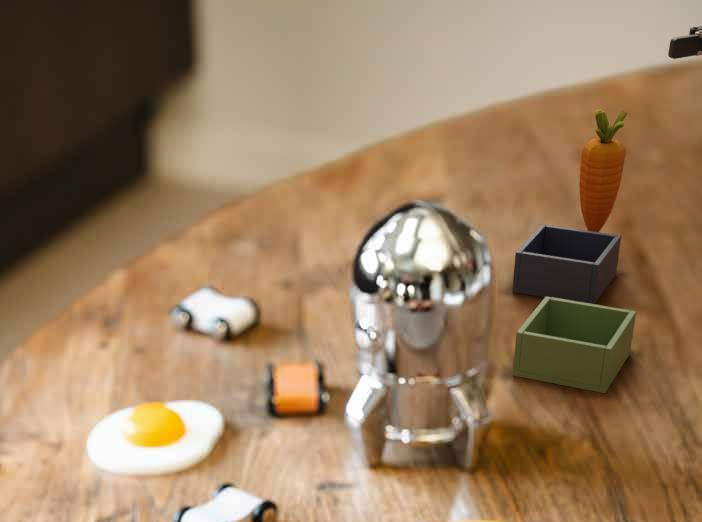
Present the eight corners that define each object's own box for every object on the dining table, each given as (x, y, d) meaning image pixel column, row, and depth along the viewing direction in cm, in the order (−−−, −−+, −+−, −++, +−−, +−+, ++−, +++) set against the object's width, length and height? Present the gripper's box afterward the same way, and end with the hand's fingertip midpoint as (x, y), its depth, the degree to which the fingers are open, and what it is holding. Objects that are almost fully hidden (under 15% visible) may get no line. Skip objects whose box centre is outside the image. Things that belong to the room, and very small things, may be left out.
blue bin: (616, 274, 137) (621, 235, 134) (593, 305, 130) (598, 265, 127) (537, 262, 140) (541, 223, 137) (512, 292, 134) (515, 252, 131)
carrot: (613, 229, 148) (630, 102, 139) (614, 244, 144) (632, 115, 135) (572, 228, 148) (586, 101, 139) (572, 243, 145) (587, 114, 136)
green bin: (630, 353, 121) (636, 311, 118) (605, 393, 114) (611, 349, 112) (541, 337, 124) (545, 296, 122) (512, 375, 118) (516, 332, 115)
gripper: (770, -7, 146) (660, 9, 141) (858, 16, 135) (743, 34, 130) (757, 58, 150) (650, 76, 146) (842, 85, 140) (730, 106, 135)
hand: (694, 57), depth 138 cm, fingers open, 8 cm apart
